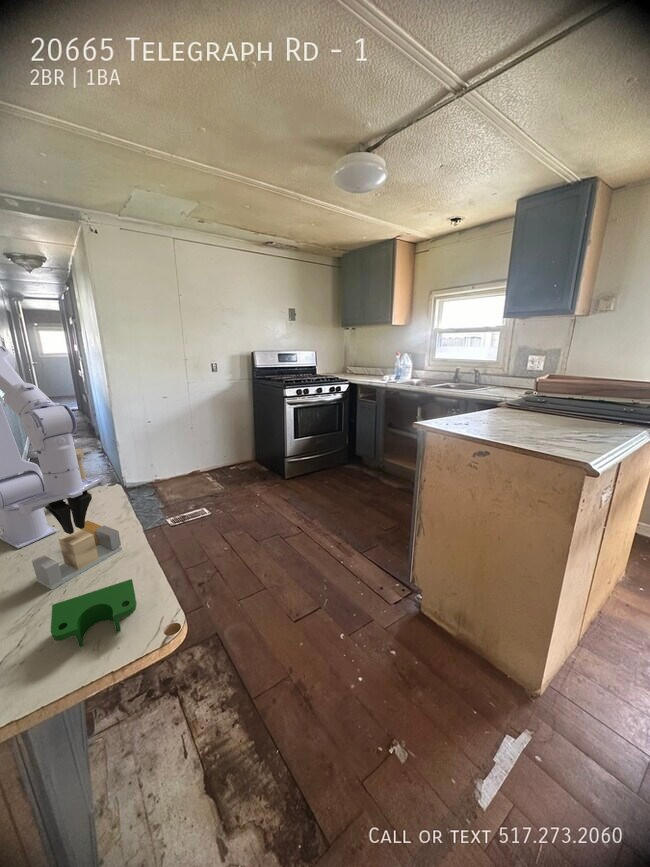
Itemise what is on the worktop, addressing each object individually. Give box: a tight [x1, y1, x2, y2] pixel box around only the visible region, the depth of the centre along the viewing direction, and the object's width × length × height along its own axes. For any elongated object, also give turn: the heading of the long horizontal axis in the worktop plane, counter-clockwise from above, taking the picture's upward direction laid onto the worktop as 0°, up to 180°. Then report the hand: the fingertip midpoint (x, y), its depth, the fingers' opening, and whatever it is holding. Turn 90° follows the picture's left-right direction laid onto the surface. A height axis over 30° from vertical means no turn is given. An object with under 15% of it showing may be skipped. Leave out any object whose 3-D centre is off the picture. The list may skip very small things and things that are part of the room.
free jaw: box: [81, 520, 122, 550], centre depth 77 cm, size 12×2×4 cm, turn 64°
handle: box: [75, 448, 90, 493], centre depth 96 cm, size 5×6×15 cm
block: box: [58, 528, 99, 570], centre depth 70 cm, size 5×4×6 cm
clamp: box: [50, 578, 137, 648], centre depth 56 cm, size 12×6×9 cm, turn 116°
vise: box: [31, 545, 123, 590], centre depth 71 cm, size 5×14×5 cm, turn 154°
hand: (74, 529), depth 69 cm, fingers closed
